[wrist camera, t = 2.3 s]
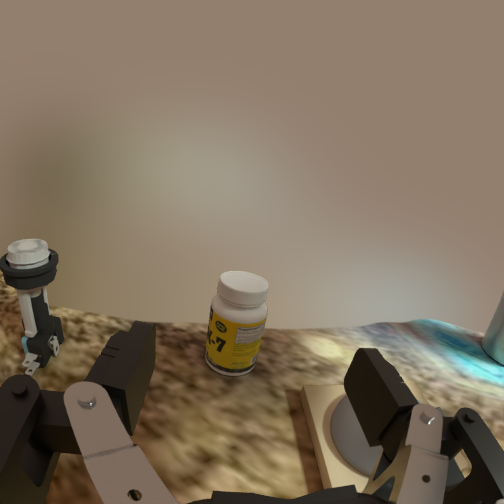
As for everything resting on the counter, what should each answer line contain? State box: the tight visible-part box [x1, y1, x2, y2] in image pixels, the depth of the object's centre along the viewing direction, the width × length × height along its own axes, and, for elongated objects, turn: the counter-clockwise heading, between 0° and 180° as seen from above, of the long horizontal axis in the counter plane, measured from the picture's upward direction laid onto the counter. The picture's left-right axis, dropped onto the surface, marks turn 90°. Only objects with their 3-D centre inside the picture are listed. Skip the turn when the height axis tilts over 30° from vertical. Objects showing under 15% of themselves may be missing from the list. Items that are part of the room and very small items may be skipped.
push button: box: [0, 239, 64, 376], centre depth 17 cm, size 7×5×10 cm
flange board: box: [300, 380, 468, 493], centre depth 17 cm, size 12×12×2 cm
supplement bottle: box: [205, 271, 269, 376], centre depth 24 cm, size 5×5×8 cm
